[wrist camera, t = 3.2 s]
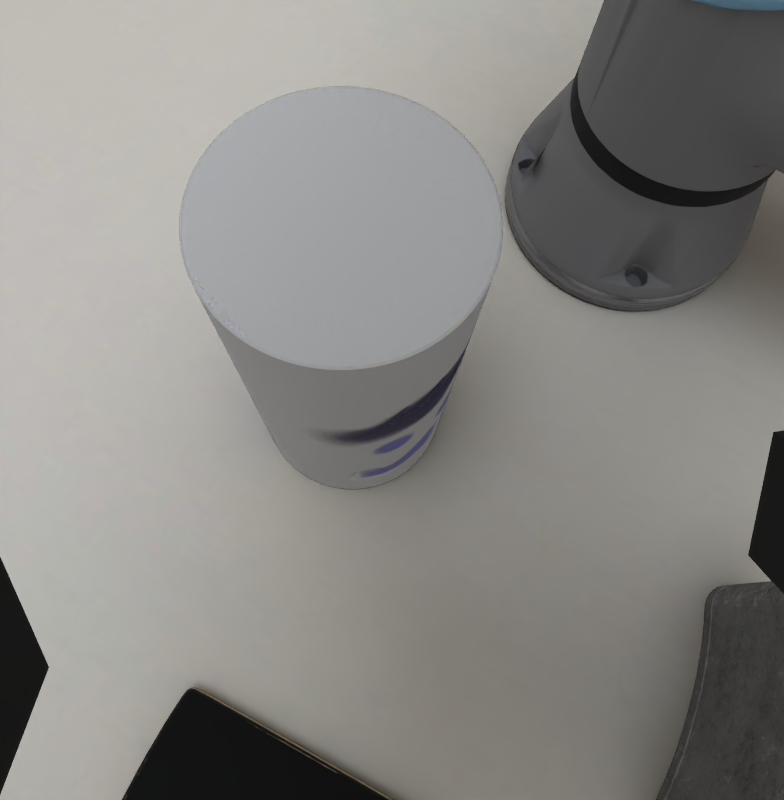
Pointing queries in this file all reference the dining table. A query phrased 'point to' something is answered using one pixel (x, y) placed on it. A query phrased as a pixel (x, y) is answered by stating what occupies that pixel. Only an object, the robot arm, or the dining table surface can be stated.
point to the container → (343, 271)
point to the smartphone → (234, 761)
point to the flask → (735, 702)
